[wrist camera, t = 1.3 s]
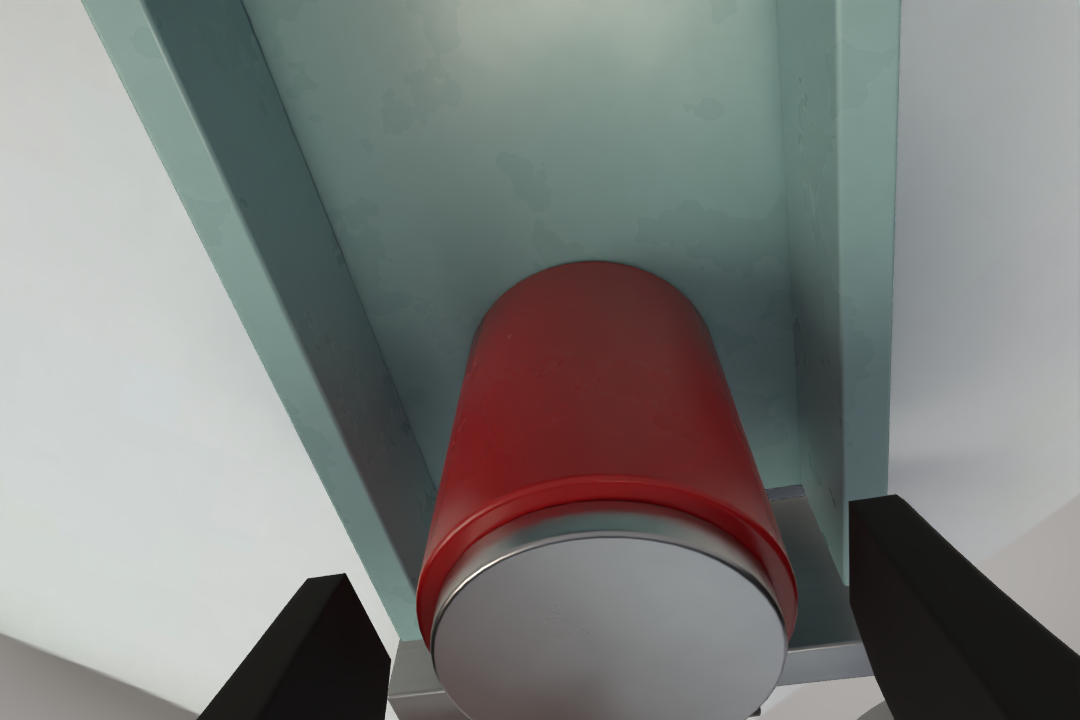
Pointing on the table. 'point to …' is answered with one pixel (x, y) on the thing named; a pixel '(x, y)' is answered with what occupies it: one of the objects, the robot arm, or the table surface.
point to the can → (602, 516)
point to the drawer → (541, 230)
